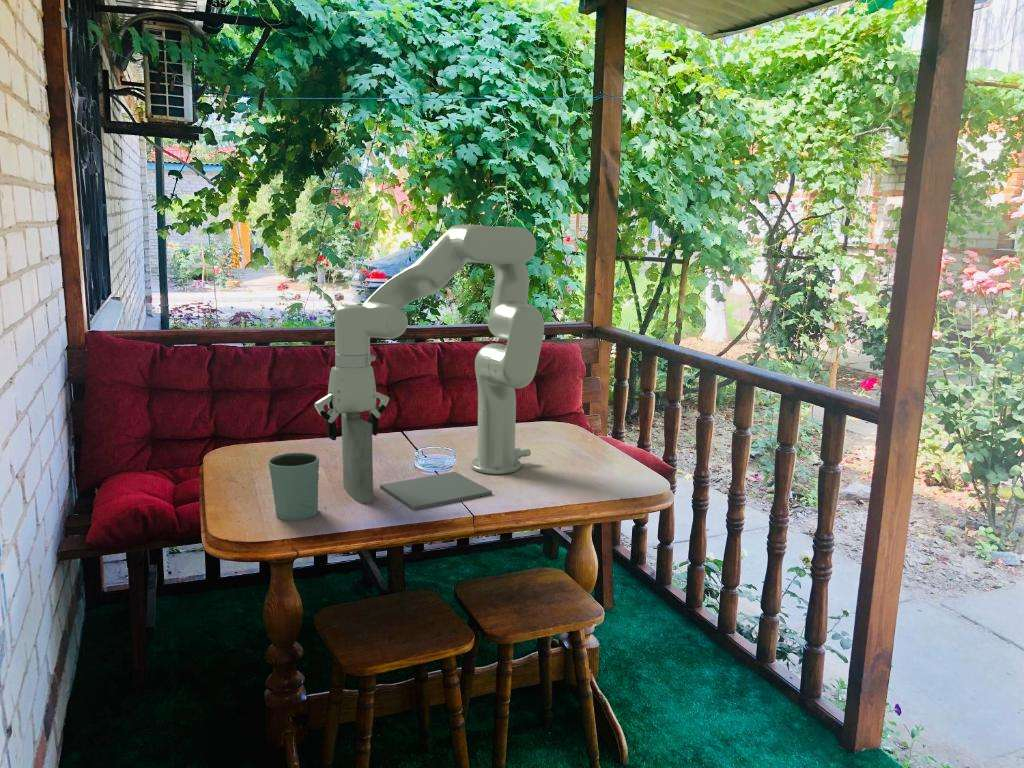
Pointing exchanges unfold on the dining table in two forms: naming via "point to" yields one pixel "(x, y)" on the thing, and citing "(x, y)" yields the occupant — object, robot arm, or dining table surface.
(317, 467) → the green cup
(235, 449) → the dining table surface
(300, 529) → the dining table surface
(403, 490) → the rubber mat
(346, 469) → the hip flask
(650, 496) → the dining table surface
